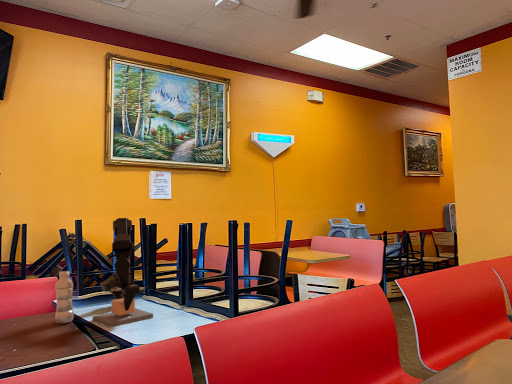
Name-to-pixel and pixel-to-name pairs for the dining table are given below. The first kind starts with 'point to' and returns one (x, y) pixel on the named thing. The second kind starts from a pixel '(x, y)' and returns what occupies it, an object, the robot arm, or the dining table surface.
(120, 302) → the orange block
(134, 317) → the panel
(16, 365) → the dining table surface
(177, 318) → the dining table surface
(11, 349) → the dining table surface
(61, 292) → the plastic bottle
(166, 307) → the dining table surface
